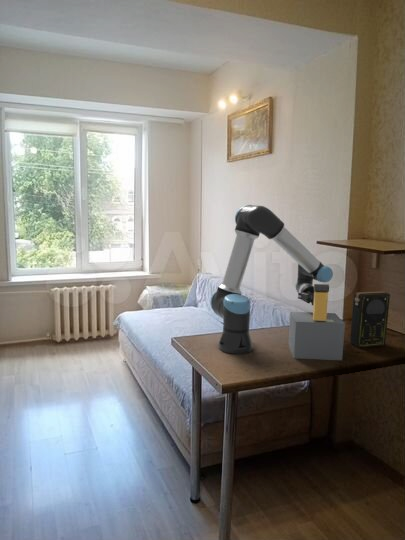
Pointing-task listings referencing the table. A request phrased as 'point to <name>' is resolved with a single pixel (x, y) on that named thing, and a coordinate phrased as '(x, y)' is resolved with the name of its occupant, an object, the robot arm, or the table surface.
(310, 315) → the box
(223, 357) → the table surface
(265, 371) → the table surface
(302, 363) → the table surface
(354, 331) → the voltmeter
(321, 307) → the yellow tall block
